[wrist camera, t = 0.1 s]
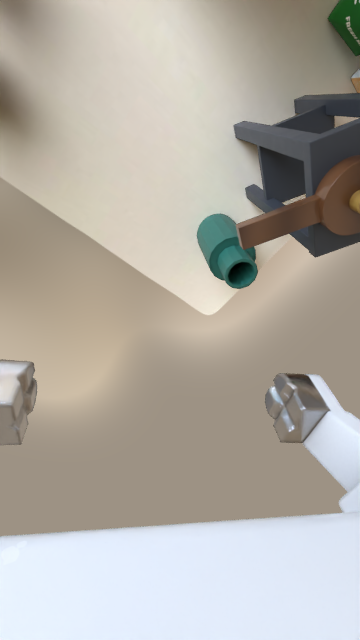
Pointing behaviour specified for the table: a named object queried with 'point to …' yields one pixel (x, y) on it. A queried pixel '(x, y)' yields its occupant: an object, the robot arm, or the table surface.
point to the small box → (356, 81)
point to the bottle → (226, 251)
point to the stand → (304, 159)
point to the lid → (312, 208)
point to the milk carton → (348, 23)
